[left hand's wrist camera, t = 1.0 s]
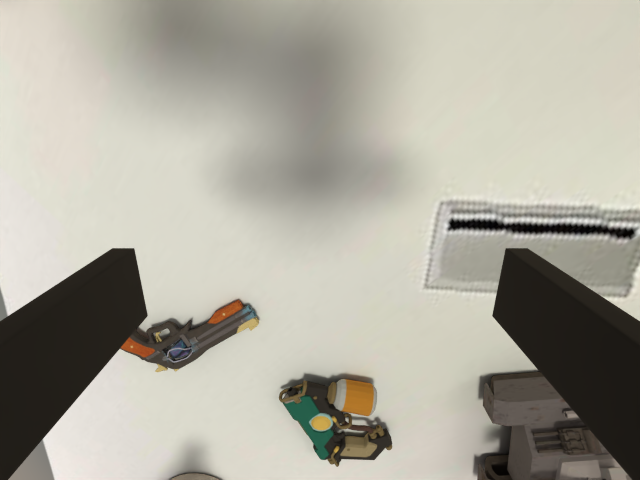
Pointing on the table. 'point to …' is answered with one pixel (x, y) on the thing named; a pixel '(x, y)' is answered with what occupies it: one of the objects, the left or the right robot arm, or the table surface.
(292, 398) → the spray gun
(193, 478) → the bust sculpture
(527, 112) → the table surface
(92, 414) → the table surface
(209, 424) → the table surface
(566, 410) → the toy
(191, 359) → the toy gun
